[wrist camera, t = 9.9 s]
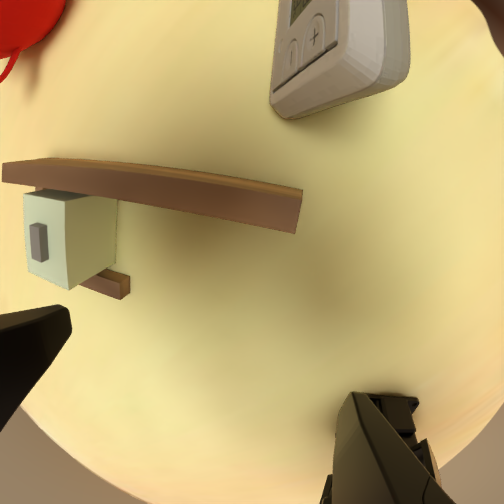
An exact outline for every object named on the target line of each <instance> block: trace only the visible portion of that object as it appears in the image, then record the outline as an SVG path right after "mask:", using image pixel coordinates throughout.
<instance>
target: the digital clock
mask: <svg viewBox="0 0 504 504" xmlns="http://www.w3.org/2000/svg"><path fill="white" fill-rule="evenodd" d="M409 68H410V32H409V19H408V8H407V0H279V9H278V19H277V29H276V38H275V48H274V58H273V68H272V78H271V88H270V105H271V106H272V107H273V108H274V109H275V111H276V112H277V113H278V114H279V115H280V116H281V117H282V118H284V119H297V118H301V117H304V116H307V115H310V114H313V113H316V112H319V111H322V110H325V109H328V108H331V107H334V106H337V105H340V104H344V103H347V102H350V101H354V100H357V99H361V98H364V97H368V96H371V95H374V94H377V93H380V92H383V91H386V90H389V89H391V88H394V87H395V86H397V85H398V84H400V83H401V82H403V81H404V80H405V78H406V77H407V75H408V72H409Z"/></svg>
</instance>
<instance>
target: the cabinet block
mask: <svg viewBox="0 0 504 504" xmlns="http://www.w3.org/2000/svg"><path fill="white" fill-rule="evenodd" d="M23 205H24V233H25V246H26V256H27V265H28V272H30V273H32V274H34V275H36V276H38V277H40V278H43V279H45V280H47V281H49V282H51V283H53V284H55V285H58V286H60V287H62V288H64V289H67V290H70V289H72V288H74V287H75V286H77V285H79V284H80V283H82V282H84V281H85V280H87V279H89V278H90V277H92V276H94V275H96V274H97V273H99V272H101V271H102V270H104V269H106V268H108V267H109V266H111V265H113V264H115V263H116V223H117V205H118V200H117V199H111V198H105V197H99V196H93V195H87V194H81V193H75V192H68V191H62V190H55V189H45V190H40V191H35V192H30V193H25V194H23Z"/></svg>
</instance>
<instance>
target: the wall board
mask: <svg viewBox="0 0 504 504" xmlns="http://www.w3.org/2000/svg"><path fill="white" fill-rule="evenodd" d="M2 182H6V183H13V184H20V185H28V186H35V187H36V189H35V191H40V190H45V189H55V190H62V191H68V192H75V193H81V194H87V195H93V196H99V197H105V198H111V199H117V200H123V201H129V202H135V203H140V204H146V205H152V206H157V207H163V208H168V209H173V210H179V211H184V212H189V213H195V214H200V215H205V216H210V217H215V218H220V219H225V220H230V221H235V222H240V223H245V224H250V225H255V226H260V227H265V228H269V229H274V230H279V231H284V232H288V233H293V234H295V231H296V227H297V222H298V217H299V212H300V207H301V202H302V194H303V190H300V189H296V188H291V187H286V186H281V185H276V184H270V183H265V182H260V181H254V180H249V179H243V178H237V177H231V176H225V175H219V174H212V173H206V172H199V171H192V170H184V169H177V168H169V167H160V166H152V165H142V164H133V163H122V162H110V161H97V160H82V159H62V158H42V159H36V160H25V161H16V162H7V163H3V164H2ZM79 285H81V286H84V287H86V288H89V289H92V290H94V291H97V292H99V293H102V294H105V295H108V296H110V297H113V298H116V299H119V300H121V299H122V298H124V297H125V296H126V295H127V294H129V293H130V276H126V275H123V274H120V273H117V272H114V271H110V270H107V269H104V270H102V271H101V272H99V273H97V274H96V275H94V276H92V277H90V278H89V279H87V280H85V281H84V282H82V283H80V284H79Z"/></svg>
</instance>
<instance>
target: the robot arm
mask: <svg viewBox="0 0 504 504" xmlns="http://www.w3.org/2000/svg"><path fill="white" fill-rule="evenodd" d="M71 333H72V325H71V319H70V313H69V310H68V309H67V308H66V307H64V306H62V305H59V304H58V305H52V306H46V307H41V308H35V309H30V310H24V311H19V312H13V313H7V314H2V315H0V432H1V431H2V429H3V427H4V426H5V425H6V423H7V422H8V420H9V419H10V418H11V416H12V415H13V414H14V412H15V411H16V409H17V408H18V407H19V405H20V404H21V403H22V401H23V400H24V399H25V397H26V396H27V395H28V393H29V392H30V391H31V389H32V388H33V387H34V386H35V384H36V383H37V382H38V380H39V379H40V378H41V377H42V375H43V374H44V373H45V372H46V370H47V369H48V368H49V366H50V365H51V364H52V362H53V361H54V359H55V358H56V356H57V355H58V353H59V352H60V350H61V349H62V347H63V346H64V344H65V343H66V341H67V340H68V338H69V337H70V335H71ZM418 405H419V400H418V399H417V398H404V397H390V396H378V395H368V394H365V393H362V392H354V391H353V392H350V393H349V395H348V396H347V398H346V400H345V402H344V404H343V406H342V407H341V409H340V411H339V415H338V422H337V432H336V433H335V438H336V440H335V449H334V457H333V474H331V475H328V477H327V480H326V483H325V487H324V490H323V494H322V497H321V500H320V504H456V503H455V502H454V501H453V500H452V499H451V498H450V497H449V496H448V495H447V494H446V493H445V492H444V490H443V489H442V487H441V479H440V474H439V470H438V467H437V463H436V460H435V457H434V455H433V452H432V450H431V447H430V445H429V443H428V441H427V438H426V439H424V440H422V441H420V443H418V442H417V439H416V435H415V432H416V428H415V424H414V421H413V418H412V414H413V412H414V411H415V409H416V408H417V407H418Z"/></svg>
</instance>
